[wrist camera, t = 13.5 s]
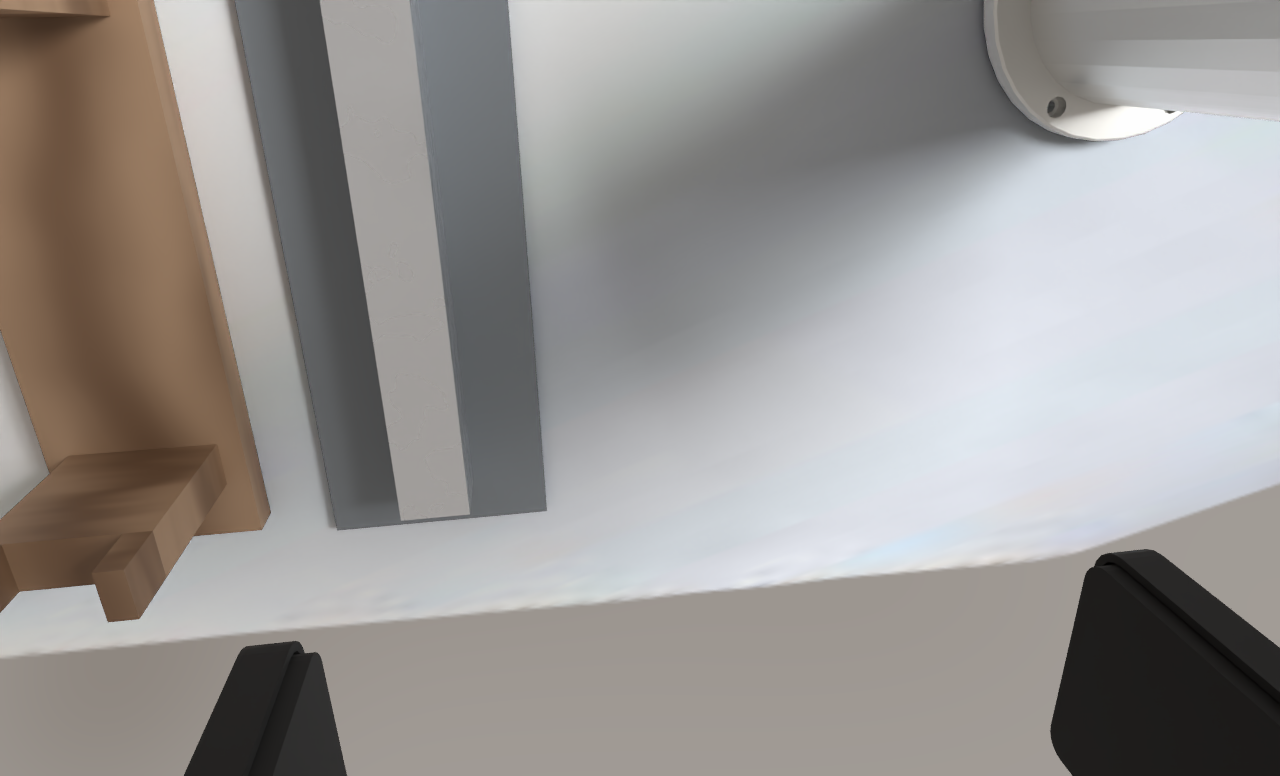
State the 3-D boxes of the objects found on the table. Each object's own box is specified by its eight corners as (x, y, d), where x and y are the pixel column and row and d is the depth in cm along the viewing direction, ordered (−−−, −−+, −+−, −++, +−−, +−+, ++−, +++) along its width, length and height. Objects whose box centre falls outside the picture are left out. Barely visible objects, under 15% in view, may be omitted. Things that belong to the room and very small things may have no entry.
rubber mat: (495, -155, 30) (495, -158, 30) (546, 505, 41) (546, 511, 41) (208, -157, 29) (203, -160, 28) (339, 524, 40) (337, 530, 39)
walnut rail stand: (125, -123, 29) (-79, -212, 19) (270, 512, 39) (187, 673, 29) (-126, -124, 28) (-479, -217, 18) (90, 528, 38) (-60, 700, 28)
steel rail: (407, -93, 30) (396, -108, 27) (473, 481, 39) (469, 514, 37) (322, -94, 30) (302, -108, 27) (408, 487, 39) (400, 520, 36)
